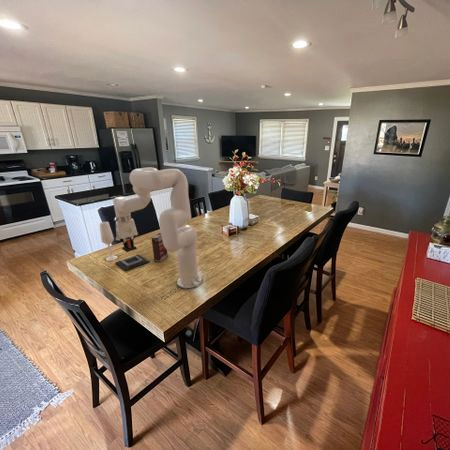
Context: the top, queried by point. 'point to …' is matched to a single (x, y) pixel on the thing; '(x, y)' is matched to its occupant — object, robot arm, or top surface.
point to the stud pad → (129, 246)
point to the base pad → (131, 262)
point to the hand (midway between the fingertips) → (129, 246)
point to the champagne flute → (107, 238)
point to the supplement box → (158, 248)
